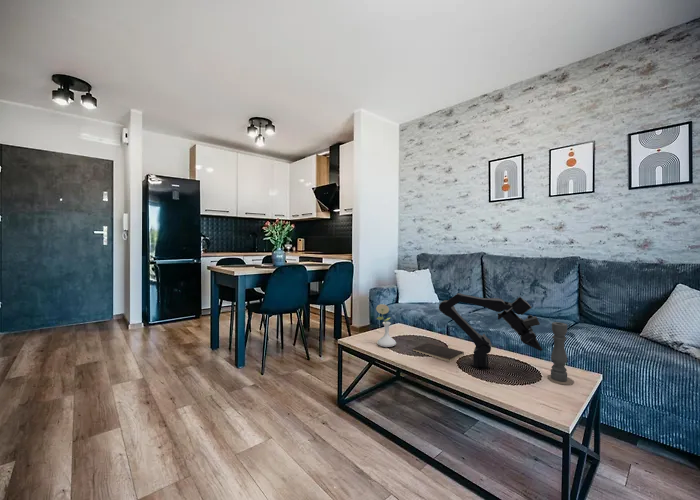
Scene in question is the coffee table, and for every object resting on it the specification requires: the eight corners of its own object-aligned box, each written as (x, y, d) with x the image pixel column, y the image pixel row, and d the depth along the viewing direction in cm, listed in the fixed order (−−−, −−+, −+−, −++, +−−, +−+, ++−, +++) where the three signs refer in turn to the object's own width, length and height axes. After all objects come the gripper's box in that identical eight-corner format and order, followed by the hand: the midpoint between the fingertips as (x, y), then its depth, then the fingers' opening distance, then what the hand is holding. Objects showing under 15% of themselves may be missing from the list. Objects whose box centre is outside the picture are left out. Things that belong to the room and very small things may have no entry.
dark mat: (563, 386, 133) (563, 385, 133) (541, 377, 142) (541, 376, 142) (579, 383, 136) (579, 382, 136) (557, 374, 146) (557, 373, 146)
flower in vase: (399, 344, 190) (399, 303, 189) (391, 349, 180) (391, 307, 179) (380, 340, 197) (380, 301, 196) (371, 346, 187) (371, 304, 186)
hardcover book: (449, 363, 161) (449, 359, 161) (412, 352, 178) (412, 348, 178) (464, 355, 172) (464, 351, 172) (428, 345, 189) (428, 342, 188)
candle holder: (564, 383, 135) (564, 326, 135) (548, 378, 140) (549, 323, 140) (569, 379, 139) (570, 324, 138) (553, 374, 144) (554, 321, 143)
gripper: (530, 313, 137) (559, 342, 132) (525, 307, 154) (551, 332, 149) (509, 329, 140) (537, 357, 136) (507, 321, 157) (532, 346, 153)
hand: (540, 347), depth 143 cm, fingers open, 9 cm apart
